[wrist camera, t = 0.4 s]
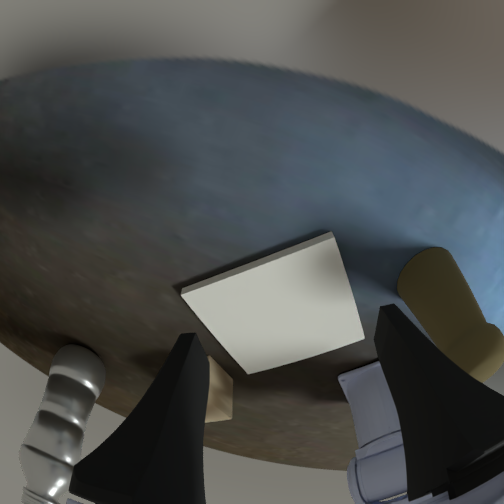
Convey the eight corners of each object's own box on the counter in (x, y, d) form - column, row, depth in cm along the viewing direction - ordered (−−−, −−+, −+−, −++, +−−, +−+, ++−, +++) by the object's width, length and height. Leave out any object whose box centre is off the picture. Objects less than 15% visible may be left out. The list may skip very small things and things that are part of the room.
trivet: (362, 332, 26) (364, 338, 25) (248, 367, 29) (248, 374, 28) (331, 231, 20) (334, 237, 19) (182, 288, 23) (180, 295, 22)
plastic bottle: (51, 336, 27) (-6, 486, 10) (92, 335, 26) (36, 513, 10) (80, 370, 31) (40, 507, 14) (121, 371, 30) (85, 528, 13)
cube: (233, 378, 30) (231, 418, 26) (195, 386, 31) (190, 424, 27) (209, 354, 28) (205, 398, 23) (169, 364, 29) (161, 404, 24)
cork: (383, 289, 23) (432, 401, 14) (429, 235, 20) (505, 339, 11) (422, 308, 25) (467, 403, 15) (463, 263, 22) (525, 352, 13)
